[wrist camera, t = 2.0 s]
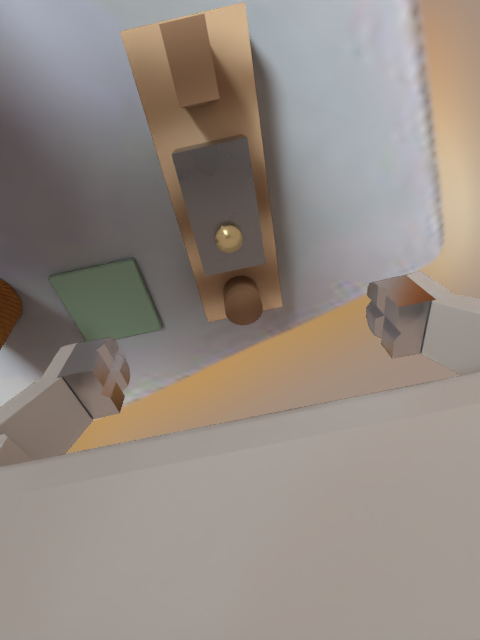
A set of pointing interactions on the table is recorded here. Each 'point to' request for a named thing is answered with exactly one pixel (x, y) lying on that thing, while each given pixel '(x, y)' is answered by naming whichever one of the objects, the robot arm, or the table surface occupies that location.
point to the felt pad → (107, 300)
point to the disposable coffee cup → (8, 310)
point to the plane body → (207, 134)
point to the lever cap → (221, 203)
